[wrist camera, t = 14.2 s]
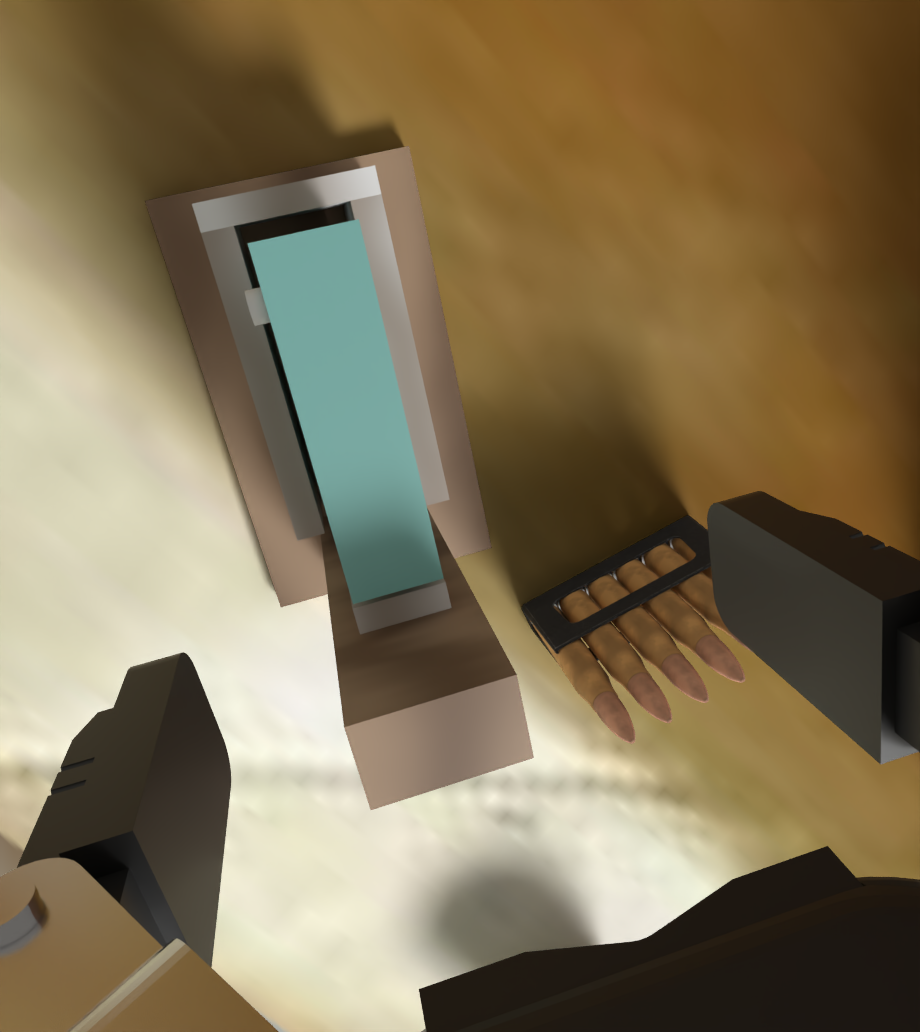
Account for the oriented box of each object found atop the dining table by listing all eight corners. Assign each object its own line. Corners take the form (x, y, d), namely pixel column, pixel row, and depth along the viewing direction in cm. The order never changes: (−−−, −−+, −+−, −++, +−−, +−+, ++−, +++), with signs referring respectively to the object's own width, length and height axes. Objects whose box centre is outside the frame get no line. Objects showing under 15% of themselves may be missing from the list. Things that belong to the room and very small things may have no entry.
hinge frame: (405, 148, 33) (529, 53, 16) (486, 540, 40) (630, 753, 23) (148, 202, 31) (-4, 157, 15) (280, 598, 38) (278, 868, 22)
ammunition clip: (533, 631, 42) (620, 768, 31) (519, 606, 42) (604, 737, 31) (698, 541, 43) (842, 644, 32) (688, 514, 42) (832, 611, 31)
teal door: (331, 227, 32) (358, 219, 20) (391, 467, 36) (443, 578, 24) (242, 246, 32) (216, 249, 20) (313, 487, 36) (328, 611, 24)
